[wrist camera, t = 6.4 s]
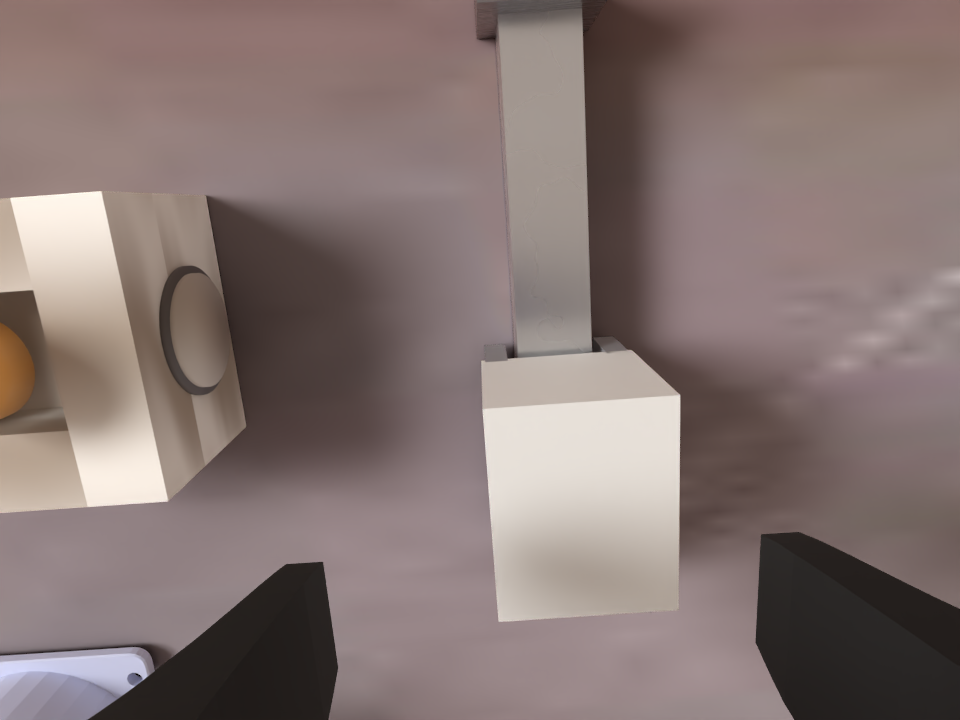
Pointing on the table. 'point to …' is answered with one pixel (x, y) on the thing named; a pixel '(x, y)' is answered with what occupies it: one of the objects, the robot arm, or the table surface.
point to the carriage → (582, 483)
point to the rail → (544, 167)
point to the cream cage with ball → (114, 348)
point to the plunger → (14, 372)
